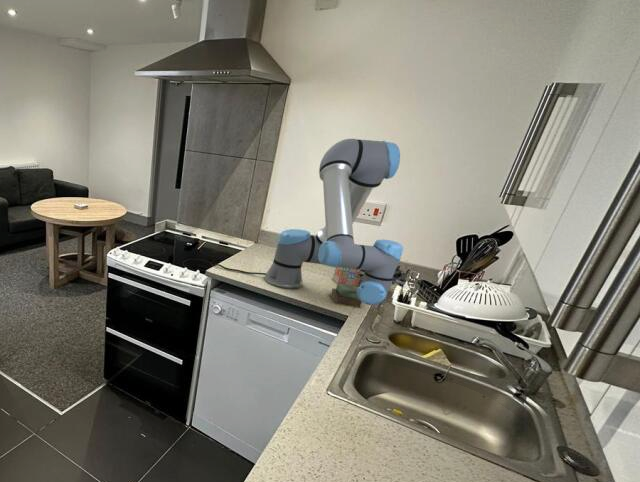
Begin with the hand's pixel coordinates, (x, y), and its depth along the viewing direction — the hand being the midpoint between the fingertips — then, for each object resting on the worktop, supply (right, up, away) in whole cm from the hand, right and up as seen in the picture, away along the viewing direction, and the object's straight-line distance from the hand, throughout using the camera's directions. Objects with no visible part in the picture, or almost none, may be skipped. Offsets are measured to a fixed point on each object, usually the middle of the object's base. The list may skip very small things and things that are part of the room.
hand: (388, 266), depth 146 cm
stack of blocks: (+8, -6, +32) cm, 34 cm away
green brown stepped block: (-9, -13, +13) cm, 21 cm away
